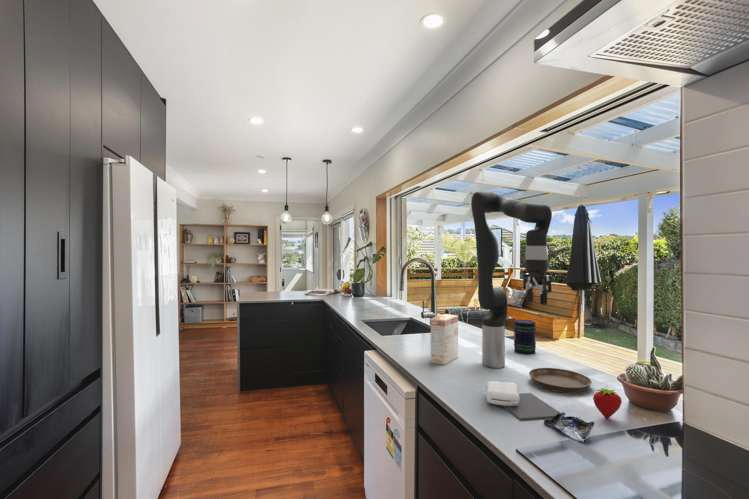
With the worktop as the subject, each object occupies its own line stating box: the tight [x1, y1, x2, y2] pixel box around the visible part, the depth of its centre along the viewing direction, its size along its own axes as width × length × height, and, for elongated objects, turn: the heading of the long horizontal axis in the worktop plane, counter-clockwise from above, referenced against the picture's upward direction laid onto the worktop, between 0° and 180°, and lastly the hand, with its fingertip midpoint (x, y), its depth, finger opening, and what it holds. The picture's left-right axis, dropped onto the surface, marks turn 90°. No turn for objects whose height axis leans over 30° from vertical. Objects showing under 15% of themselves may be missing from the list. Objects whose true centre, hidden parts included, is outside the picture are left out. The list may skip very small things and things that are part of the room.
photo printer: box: [485, 380, 520, 407], centre depth 123 cm, size 10×4×12 cm
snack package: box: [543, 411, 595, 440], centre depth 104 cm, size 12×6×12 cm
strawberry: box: [592, 384, 622, 419], centre depth 111 cm, size 6×8×10 cm
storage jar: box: [513, 319, 537, 356], centre depth 185 cm, size 10×10×15 cm
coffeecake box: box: [430, 313, 459, 366], centre depth 171 cm, size 15×7×20 cm, turn 144°
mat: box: [502, 392, 565, 421], centre depth 120 cm, size 18×14×1 cm
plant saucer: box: [528, 367, 592, 394], centre depth 139 cm, size 21×21×3 cm
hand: (536, 302), depth 138 cm, fingers open, 8 cm apart
